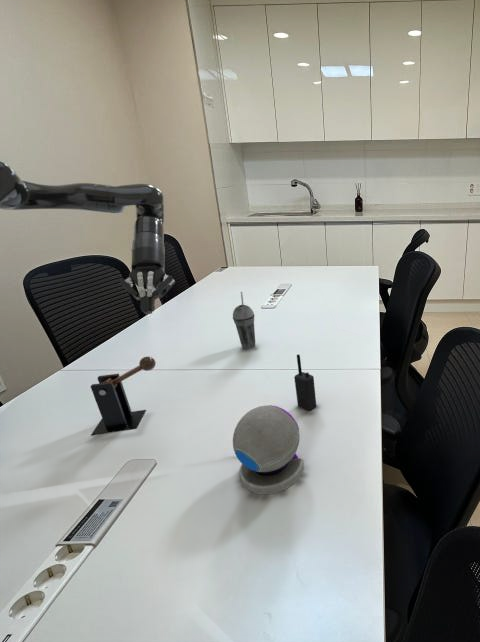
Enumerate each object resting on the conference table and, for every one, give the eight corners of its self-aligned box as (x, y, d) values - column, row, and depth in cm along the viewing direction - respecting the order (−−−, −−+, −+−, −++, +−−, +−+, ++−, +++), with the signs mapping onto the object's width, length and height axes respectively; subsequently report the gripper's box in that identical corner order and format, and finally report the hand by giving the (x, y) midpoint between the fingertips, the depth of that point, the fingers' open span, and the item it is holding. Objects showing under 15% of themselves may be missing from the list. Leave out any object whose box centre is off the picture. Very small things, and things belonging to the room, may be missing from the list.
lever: (160, 362, 95) (150, 351, 93) (156, 368, 92) (146, 357, 90) (110, 390, 95) (99, 380, 93) (104, 397, 92) (93, 387, 90)
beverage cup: (234, 350, 135) (223, 295, 127) (245, 341, 142) (235, 289, 133) (252, 352, 134) (243, 296, 125) (263, 343, 140) (254, 290, 132)
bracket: (147, 413, 102) (133, 369, 96) (138, 432, 94) (122, 385, 89) (105, 419, 100) (88, 374, 94) (92, 438, 92) (73, 391, 87)
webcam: (315, 462, 83) (309, 404, 77) (273, 504, 73) (262, 441, 67) (270, 443, 89) (261, 387, 83) (226, 479, 79) (212, 419, 73)
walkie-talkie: (317, 405, 103) (312, 355, 97) (308, 412, 100) (303, 361, 94) (304, 400, 105) (298, 351, 99) (295, 406, 103) (289, 356, 97)
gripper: (179, 259, 107) (180, 316, 101) (127, 263, 104) (124, 321, 98) (170, 243, 100) (171, 303, 94) (114, 247, 98) (110, 308, 92)
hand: (147, 312), depth 96 cm, fingers closed
